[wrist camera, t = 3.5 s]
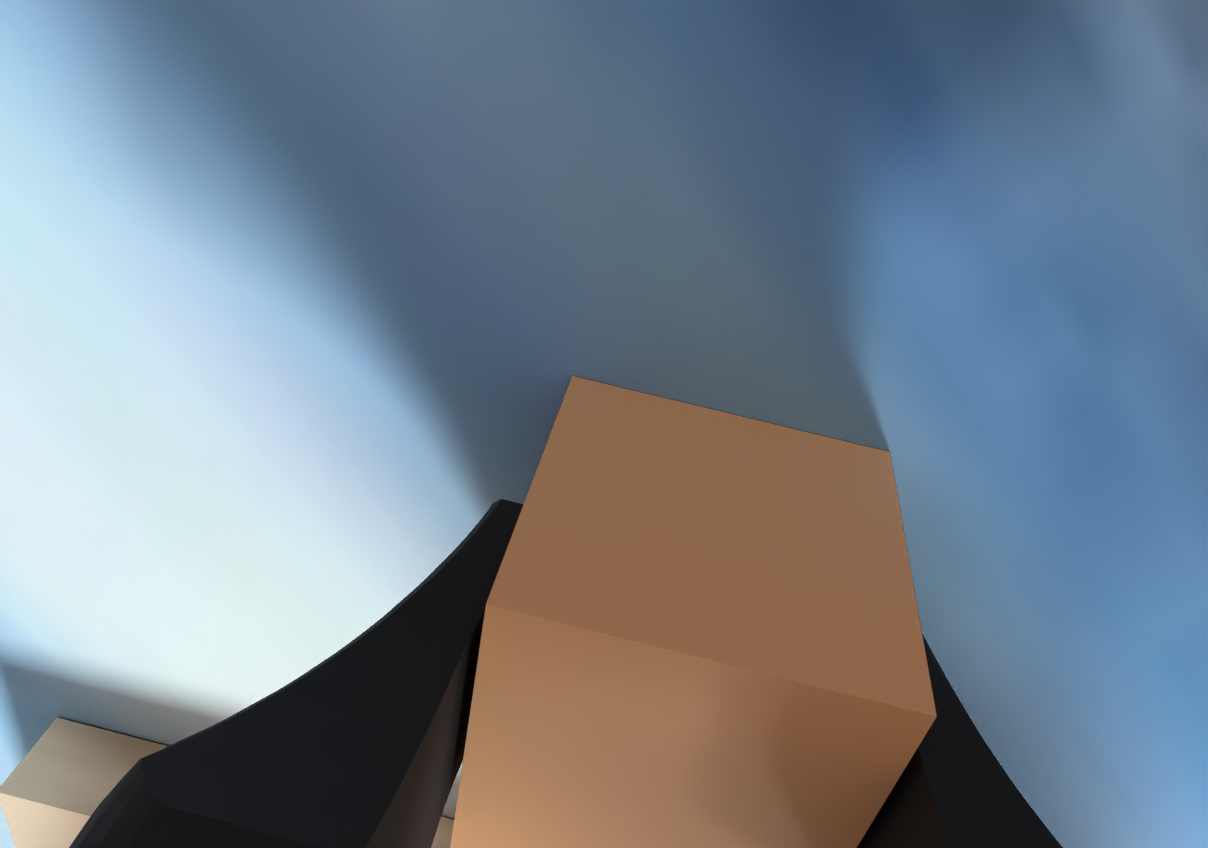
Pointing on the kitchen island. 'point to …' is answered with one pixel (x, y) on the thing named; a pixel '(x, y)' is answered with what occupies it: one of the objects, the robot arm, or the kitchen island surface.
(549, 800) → the block
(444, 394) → the kitchen island surface
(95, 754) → the base board
